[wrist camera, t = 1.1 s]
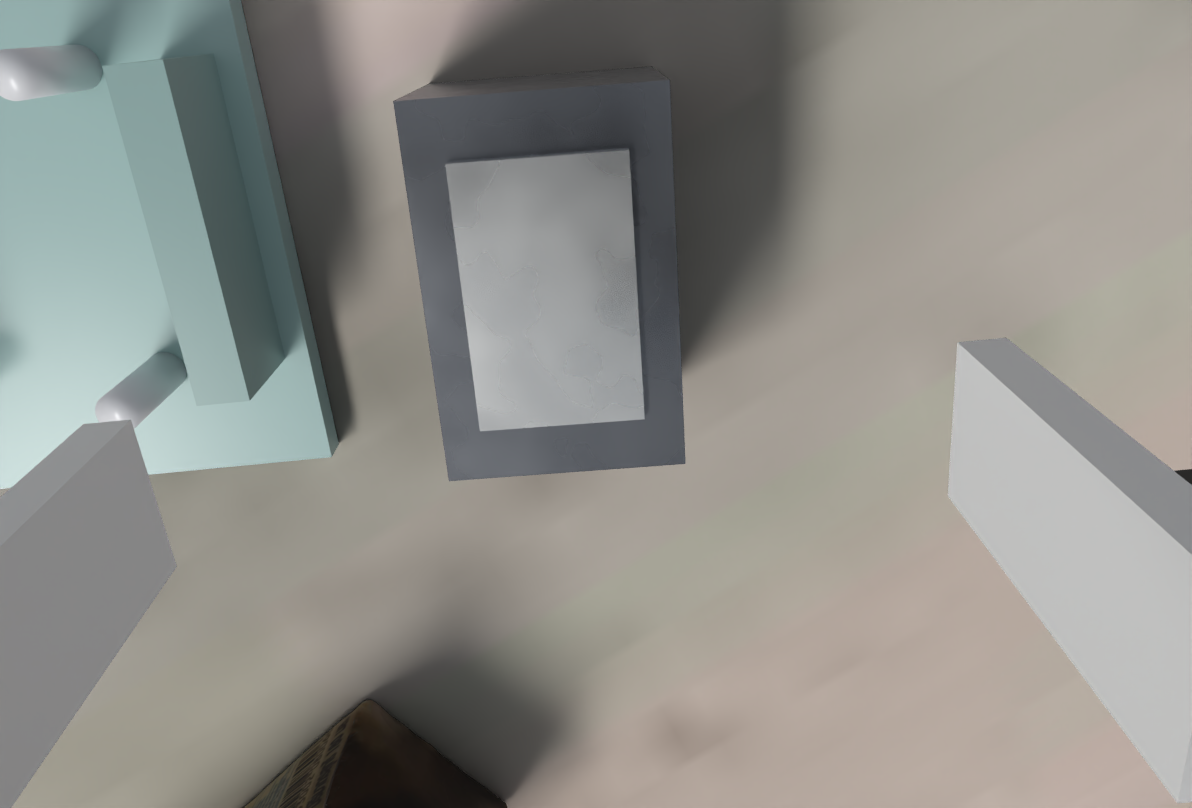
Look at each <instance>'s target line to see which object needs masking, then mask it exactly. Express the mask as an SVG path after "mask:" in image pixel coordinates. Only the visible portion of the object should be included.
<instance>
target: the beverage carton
mask: <svg viewBox="0 0 1192 808" xmlns="http://www.w3.org/2000/svg"><path fill="white" fill-rule="evenodd" d="M244 808H507V805H506V803H505V802H503V801H502V800H501V799H499V798H498V797H497V796H495V795H494V794H493V793H491V792H490V791H489V790H488V789H487V788H486V787H484V786H483V785H481V784H480V783H478V782H476V781H475V780H473V779H472V778H471V777H469V776H468V775H466V774H465V773H464V772H463V771H462V770H460V769H459V768H458V767H457V766H455V765H454V764H453V763H452V762H450V761H449V760H448V759H446V758H445V757H443V756H442V755H440V753H439V752H438V751H437V750H436V749H435V748H434V747H433V746H431V745H430V744H428V743H427V742H425V741H424V740H422V739H421V738H419V737H418V736H417V735H415V734H414V733H413V732H412V731H410V730H409V729H408V728H407V727H406V726H405V725H403V724H402V723H401V722H399V721H397V720H396V719H394V718H393V717H392V716H391V715H390V714H389V713H387V712H386V711H385V710H384V709H383V708H382V707H380V706H379V705H378V704H377V703H375V702H374V701H372V700H366V701H364V702H362V703H361V704H360V705H359V706H358V707H357V708H356V709H355V710H354V711H353V712H352V713H350V714H349V715H348V716H346V717H345V718H344V719H343V720H341V721H340V722H339V723H338V724H337V725H335V726H334V727H333V728H332V729H331V730H330V731H329V732H327V733H326V734H325V735H324V736H323V737H322V738H321V739H319V740H318V741H317V742H316V743H315V744H314V745H312V746H311V747H310V748H309V749H308V750H307V751H306V752H305V753H303V754H302V755H301V756H300V757H299V758H298V759H297V760H296V761H295V762H294V763H292V764H291V765H290V766H289V767H288V768H287V769H286V770H285V771H284V772H283V773H281V774H280V775H279V776H278V777H277V778H276V779H275V780H274V781H273V782H272V783H271V784H269V785H268V786H267V787H266V788H265V789H264V790H263V791H262V792H261V793H260V794H259V795H258V796H257V797H256V798H255V799H254V800H252V801H251V802H250V803H249V804H248V805H247V806H245V807H244Z"/></svg>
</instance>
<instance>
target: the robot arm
mask: <svg viewBox="0 0 1192 808" xmlns="http://www.w3.org/2000/svg"><path fill="white" fill-rule="evenodd" d="M948 497H949V498H950V500H951V501H952V502H953V504H954V505H955V506H956V508H957V509H958V510H959V512H960V513H961V514H962V516H963V517H964V518H965V520H966V521H967V522H968V524H969V525H970V526H971V528H972V529H973V530H974V532H975V533H976V534H977V536H978V537H979V539H980V540H981V541H982V543H983V544H984V545H985V547H986V548H987V549H988V551H989V552H990V553H991V555H992V556H993V557H994V559H995V560H996V561H997V563H998V564H999V565H1000V567H1001V568H1002V569H1003V571H1004V572H1005V573H1006V575H1007V576H1008V577H1009V579H1010V580H1011V581H1012V583H1013V584H1014V585H1015V587H1016V588H1017V589H1018V591H1019V592H1020V593H1021V595H1022V596H1023V597H1024V599H1025V600H1026V601H1027V603H1028V604H1029V605H1030V607H1031V608H1032V609H1033V611H1034V612H1035V613H1036V615H1037V616H1038V617H1039V619H1040V620H1041V621H1042V623H1043V624H1044V626H1045V627H1046V628H1047V630H1048V631H1049V632H1050V634H1051V635H1052V636H1053V638H1054V639H1055V640H1056V642H1057V643H1058V644H1059V646H1060V647H1061V648H1062V650H1063V651H1064V652H1065V654H1066V655H1067V656H1068V658H1069V659H1070V660H1071V662H1072V663H1073V664H1074V666H1075V667H1076V668H1077V670H1078V671H1079V672H1080V674H1081V675H1082V676H1083V678H1084V679H1085V680H1086V682H1087V683H1088V684H1089V686H1090V687H1091V688H1092V690H1093V691H1094V692H1095V694H1096V695H1097V696H1098V698H1099V699H1100V700H1101V702H1102V703H1103V704H1104V706H1105V707H1106V708H1107V710H1108V711H1109V712H1110V714H1111V715H1112V717H1113V718H1114V719H1115V721H1116V722H1117V723H1118V725H1119V726H1120V727H1121V729H1122V730H1123V731H1124V733H1125V734H1126V735H1127V737H1128V738H1129V739H1130V741H1131V742H1132V743H1133V745H1134V746H1135V747H1136V749H1137V750H1138V751H1139V753H1140V754H1141V755H1142V757H1143V758H1144V759H1145V761H1146V762H1147V763H1148V765H1149V766H1150V767H1151V769H1152V770H1153V771H1154V773H1155V774H1156V775H1157V777H1158V778H1159V779H1160V781H1161V782H1162V783H1163V785H1164V786H1165V787H1166V789H1167V790H1168V791H1169V793H1170V794H1171V795H1172V797H1173V798H1174V799H1175V801H1176V802H1177V803H1186V802H1192V469H1189V470H1178V471H1173V470H1172V469H1171V468H1170V467H1168V466H1167V465H1166V464H1165V463H1163V462H1162V461H1161V460H1160V459H1158V458H1157V457H1156V456H1155V455H1153V454H1152V453H1151V452H1150V451H1148V450H1147V449H1146V448H1144V447H1143V446H1142V445H1141V444H1139V443H1138V442H1137V441H1136V440H1134V439H1133V438H1132V437H1131V436H1129V435H1128V434H1127V433H1126V432H1124V431H1123V430H1122V429H1121V428H1119V427H1118V426H1117V425H1116V424H1114V423H1113V422H1112V421H1111V420H1109V419H1108V418H1107V417H1105V416H1104V415H1103V414H1102V413H1100V412H1099V411H1098V410H1097V409H1095V408H1094V407H1093V406H1092V405H1090V404H1089V403H1088V402H1087V401H1085V400H1084V399H1083V398H1082V397H1080V396H1079V395H1078V394H1077V393H1075V392H1074V391H1073V390H1071V389H1070V388H1069V387H1068V386H1066V385H1065V384H1064V383H1063V382H1061V381H1060V380H1059V379H1058V378H1056V377H1055V376H1054V375H1053V374H1051V373H1050V372H1049V371H1048V370H1046V369H1045V368H1044V367H1043V366H1041V365H1040V364H1039V363H1038V362H1036V361H1035V360H1034V359H1032V358H1031V357H1030V356H1029V355H1027V354H1026V353H1025V352H1024V351H1022V350H1021V349H1020V348H1019V347H1017V346H1016V345H1015V344H1014V343H1012V342H1011V341H1010V340H1009V339H1007V338H998V339H988V340H977V341H966V342H958V343H957V358H956V374H955V390H954V406H953V422H952V437H951V453H950V469H949V485H948ZM176 567H177V565H176V562H175V559H174V556H173V553H172V549H171V546H170V543H169V540H168V537H167V533H166V530H165V527H164V524H163V521H162V517H161V514H160V511H159V508H158V505H157V501H156V498H155V495H154V492H153V489H152V485H151V482H150V479H149V476H148V473H147V469H146V466H145V463H144V460H143V457H142V453H141V450H140V447H139V444H138V441H137V437H136V434H135V431H134V428H133V425H132V421H131V420H121V421H110V422H99V423H89V424H83V425H82V426H80V427H79V428H78V429H77V430H76V431H75V432H74V433H73V434H71V435H70V436H69V437H68V438H67V439H66V440H65V441H64V442H62V443H61V444H60V445H59V446H58V447H57V448H56V449H55V450H53V451H52V452H51V453H50V454H49V455H48V456H47V457H45V458H44V459H43V460H42V461H41V462H40V463H39V464H38V465H36V466H35V467H34V468H33V469H32V470H31V471H30V472H29V473H27V474H26V475H25V476H24V477H23V478H22V479H21V480H20V481H18V482H17V483H16V484H15V485H14V486H13V487H12V488H10V489H9V490H8V491H7V492H6V493H5V494H4V495H3V496H1V497H0V808H11V807H12V806H13V804H14V803H15V801H16V800H17V798H18V797H19V796H20V794H21V793H22V791H23V790H24V788H25V787H26V785H27V784H28V782H29V781H30V780H31V778H32V777H33V775H34V774H35V772H36V771H37V769H38V768H39V766H40V765H41V763H42V762H43V761H44V759H45V758H46V756H47V755H48V753H49V752H50V750H51V749H52V747H53V746H54V745H55V743H56V742H57V740H58V739H59V737H60V736H61V734H62V733H63V731H64V730H65V729H66V727H67V726H68V724H69V723H70V721H71V720H72V718H73V717H74V715H75V714H76V713H77V711H78V710H79V708H80V707H81V705H82V704H83V702H84V701H85V699H86V698H87V696H88V695H89V694H90V692H91V691H92V689H93V688H94V686H95V685H96V683H97V682H98V680H99V679H100V678H101V676H102V675H103V673H104V672H105V670H106V669H107V667H108V666H109V664H110V663H111V662H112V660H113V659H114V657H115V656H116V654H117V653H118V651H119V650H120V648H121V647H122V645H123V644H124V643H125V641H126V640H127V638H128V637H129V635H130V634H131V632H132V631H133V629H134V628H135V627H136V625H137V624H138V622H139V621H140V619H141V618H142V616H143V615H144V613H145V612H146V611H147V609H148V608H149V606H150V605H151V603H152V602H153V600H154V599H155V597H156V596H157V594H158V593H159V592H160V590H161V589H162V587H163V586H164V584H165V583H166V581H167V580H168V578H169V577H170V576H171V574H172V573H173V571H174V570H175V568H176Z"/></svg>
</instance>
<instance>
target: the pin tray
mask: <svg viewBox="0 0 1192 808" xmlns="http://www.w3.org/2000/svg"><path fill="white" fill-rule="evenodd" d="M121 420H131V421H132V425H133V428H134V431H135V434H136V437H137V441H138V444H139V447H140V450H141V453H142V457H143V460H144V463H145V466H146V469H147V473H148V475H149V474H160V473H170V472H180V471H191V470H201V469H212V468H222V467H233V466H243V465H253V464H264V463H274V462H285V461H295V460H305V459H316V458H326V457H332V455H333V454H334V452H335V450H336V448H337V446H338V445H339V443H338V439H337V434H336V429H335V425H334V420H333V416H332V411H331V407H330V402H329V398H328V393H327V389H326V384H325V380H324V375H323V370H322V366H321V361H320V357H319V352H318V348H317V343H316V339H315V334H314V330H313V325H312V321H311V316H310V311H309V307H308V302H307V298H306V293H305V289H304V284H303V280H302V275H301V271H300V266H299V262H298V257H297V252H296V248H295V243H294V239H293V234H292V230H291V225H290V221H289V216H288V212H287V207H286V203H285V198H284V193H283V189H282V184H281V180H280V175H279V171H278V166H277V162H276V157H275V153H274V148H273V144H272V139H271V135H270V130H269V125H268V121H267V116H266V112H265V107H264V103H263V98H262V94H261V89H260V85H259V80H258V76H257V71H256V66H255V62H254V57H253V53H252V48H251V44H250V39H249V35H248V30H247V26H246V21H245V17H244V12H243V7H242V3H241V0H0V489H3V488H12V487H13V486H14V485H15V484H16V483H17V482H18V481H20V480H21V479H22V478H23V477H24V476H25V475H26V474H27V473H29V472H30V471H31V470H32V469H33V468H34V467H35V466H36V465H38V464H39V463H40V462H41V461H42V460H43V459H44V458H45V457H47V456H48V455H49V454H50V453H51V452H52V451H53V450H55V449H56V448H57V447H58V446H59V445H60V444H61V443H62V442H64V441H65V440H66V439H67V438H68V437H69V436H70V435H71V434H73V433H74V432H75V431H76V430H77V429H78V428H79V427H80V426H82V425H83V424H89V423H99V422H110V421H121Z"/></svg>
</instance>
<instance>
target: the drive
mask: <svg viewBox="0 0 1192 808" xmlns="http://www.w3.org/2000/svg"><path fill="white" fill-rule="evenodd" d="M393 102H394V109H395V116H396V123H397V130H398V136H399V143H400V150H401V157H402V164H403V171H404V177H405V184H406V191H407V198H408V205H409V212H410V218H411V225H412V232H413V239H414V246H415V253H416V259H417V266H418V273H419V280H420V287H421V293H422V300H423V307H424V314H425V321H426V328H427V334H428V341H429V348H430V355H431V362H432V369H433V375H434V382H435V389H436V396H437V403H438V410H439V416H440V423H441V430H442V437H443V444H444V450H445V457H446V464H447V471H448V478H449V481H456V480H470V479H484V478H497V477H511V476H525V475H538V474H552V473H566V472H579V471H593V470H607V469H621V468H634V467H648V466H662V465H675V464H685V442H684V418H683V393H682V368H681V344H680V319H679V294H678V269H677V245H676V220H675V195H674V171H673V146H672V121H671V97H670V80H669V79H668V78H667V77H665V76H664V75H663V74H661V73H660V72H659V71H657V70H656V69H655V68H653V67H652V66H651V67H638V68H625V69H612V70H599V71H586V72H573V73H560V74H547V75H534V76H521V77H509V78H496V79H483V80H470V81H457V82H444V83H431V84H427V85H425V86H423V87H421V88H419V89H417V90H415V91H413V92H411V93H409V94H407V95H405V96H403V97H401V98H399V99H397V100H395V101H393Z"/></svg>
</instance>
